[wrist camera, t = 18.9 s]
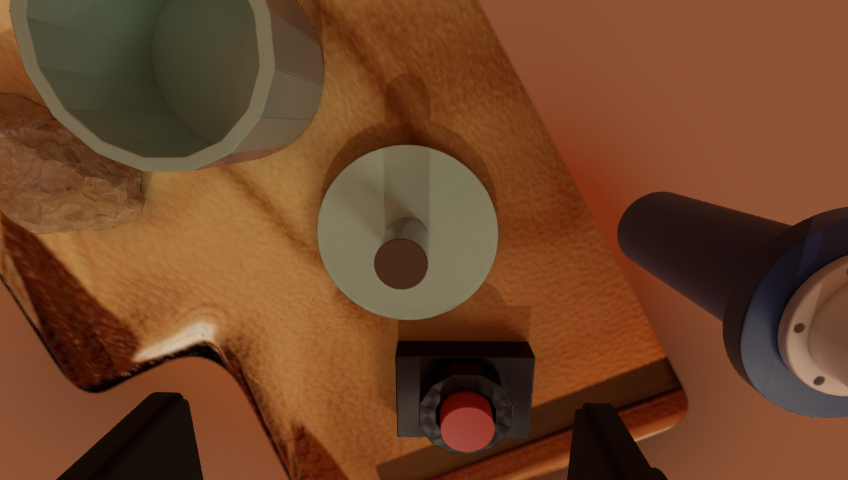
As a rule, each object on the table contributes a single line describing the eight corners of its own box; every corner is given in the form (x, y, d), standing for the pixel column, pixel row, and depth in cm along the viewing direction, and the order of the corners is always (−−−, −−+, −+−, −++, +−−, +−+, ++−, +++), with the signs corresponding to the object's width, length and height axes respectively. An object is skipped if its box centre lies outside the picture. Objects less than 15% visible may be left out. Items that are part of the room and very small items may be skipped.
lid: (500, 143, 27) (521, 149, 20) (491, 313, 30) (508, 364, 23) (314, 144, 27) (277, 149, 20) (327, 312, 30) (298, 362, 24)
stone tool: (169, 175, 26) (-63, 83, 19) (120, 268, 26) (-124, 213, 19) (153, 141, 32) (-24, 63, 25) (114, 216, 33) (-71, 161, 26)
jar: (316, -36, 24) (256, -120, 16) (330, 158, 27) (285, 171, 19) (130, -33, 24) (-25, -115, 16) (164, 158, 27) (49, 171, 19)
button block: (528, 341, 30) (542, 372, 27) (522, 418, 32) (534, 457, 29) (397, 340, 31) (392, 371, 27) (399, 417, 33) (395, 455, 29)
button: (492, 390, 28) (496, 407, 26) (489, 433, 29) (493, 452, 27) (440, 389, 28) (440, 406, 26) (439, 432, 29) (439, 451, 27)
